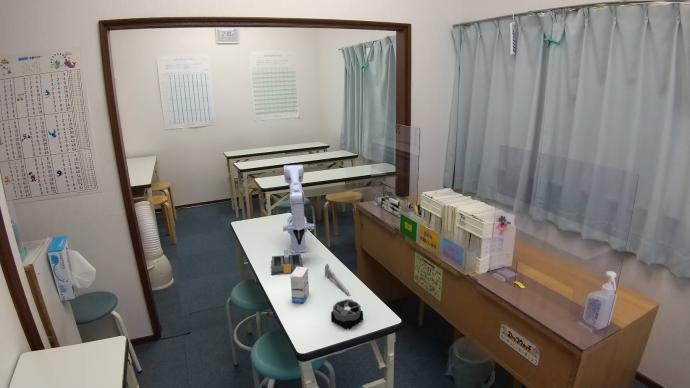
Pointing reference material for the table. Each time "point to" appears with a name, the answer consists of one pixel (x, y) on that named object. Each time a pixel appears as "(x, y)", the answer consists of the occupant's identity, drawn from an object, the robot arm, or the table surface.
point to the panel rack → (282, 268)
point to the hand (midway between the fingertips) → (299, 243)
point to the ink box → (299, 284)
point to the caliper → (335, 279)
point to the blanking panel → (286, 257)
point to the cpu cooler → (347, 313)
